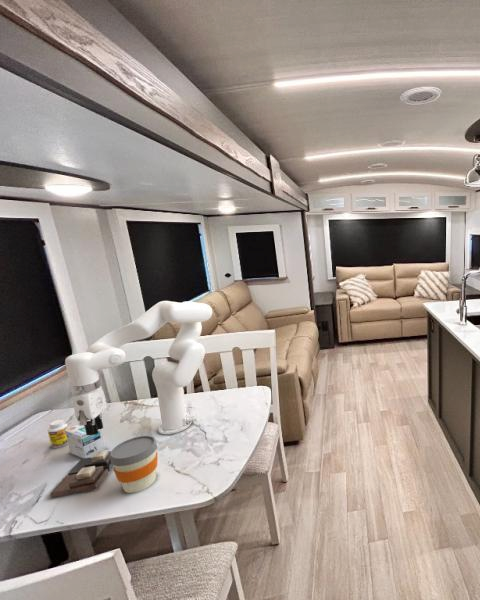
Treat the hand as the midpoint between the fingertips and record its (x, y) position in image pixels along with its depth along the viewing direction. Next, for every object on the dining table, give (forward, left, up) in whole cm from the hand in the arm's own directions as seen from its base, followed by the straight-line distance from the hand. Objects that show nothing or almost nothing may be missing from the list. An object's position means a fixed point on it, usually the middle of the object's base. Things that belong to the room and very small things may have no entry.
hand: (95, 431), depth 117 cm
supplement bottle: (+23, -21, -15) cm, 35 cm away
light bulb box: (+10, -12, -15) cm, 22 cm away
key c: (0, 0, -12) cm, 12 cm away
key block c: (+2, 0, -15) cm, 15 cm away
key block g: (+2, +9, -15) cm, 18 cm away
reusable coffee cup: (-17, +14, -15) cm, 27 cm away
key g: (0, +9, -12) cm, 15 cm away
